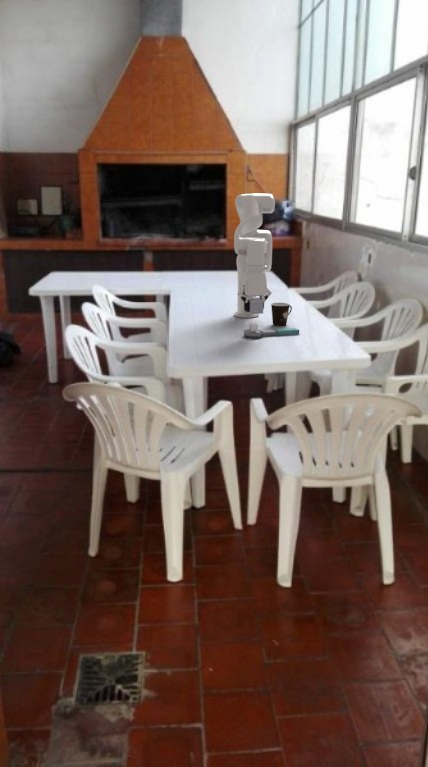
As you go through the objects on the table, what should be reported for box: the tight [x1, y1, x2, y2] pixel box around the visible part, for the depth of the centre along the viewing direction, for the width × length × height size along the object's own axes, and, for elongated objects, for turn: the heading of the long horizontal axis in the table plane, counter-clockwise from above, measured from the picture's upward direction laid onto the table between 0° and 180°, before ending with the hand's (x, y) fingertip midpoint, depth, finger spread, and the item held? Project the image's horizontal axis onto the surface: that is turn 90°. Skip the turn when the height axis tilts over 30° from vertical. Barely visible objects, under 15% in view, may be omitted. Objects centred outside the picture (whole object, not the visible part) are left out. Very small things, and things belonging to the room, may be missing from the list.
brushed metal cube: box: [245, 296, 264, 315], centre depth 253 cm, size 6×6×6 cm
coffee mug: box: [271, 302, 293, 328], centre depth 279 cm, size 12×9×10 cm
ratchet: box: [243, 322, 300, 340], centre depth 259 cm, size 8×26×6 cm, turn 108°
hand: (254, 310), depth 254 cm, fingers closed on brushed metal cube, 6 cm apart
